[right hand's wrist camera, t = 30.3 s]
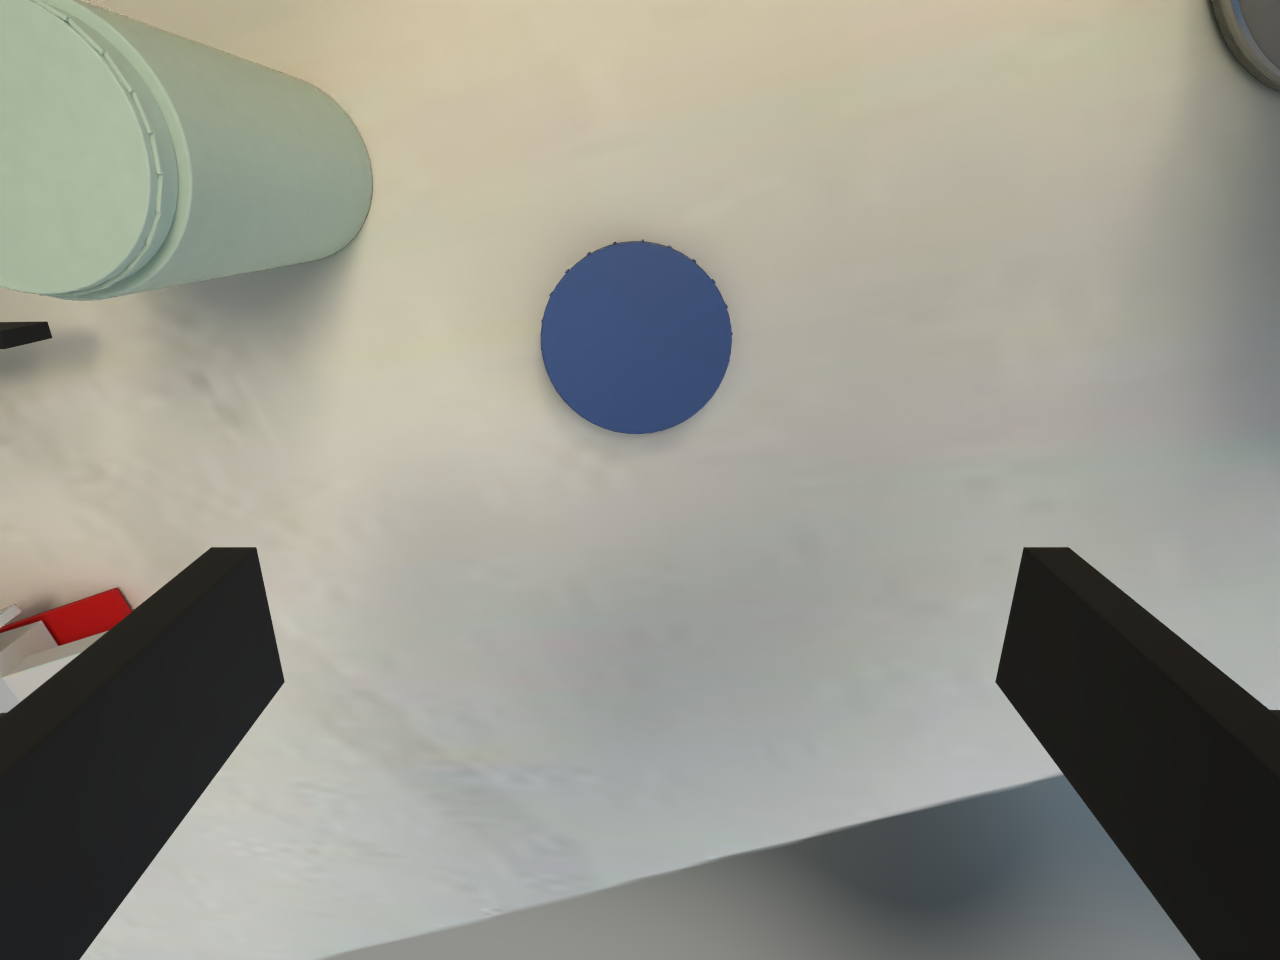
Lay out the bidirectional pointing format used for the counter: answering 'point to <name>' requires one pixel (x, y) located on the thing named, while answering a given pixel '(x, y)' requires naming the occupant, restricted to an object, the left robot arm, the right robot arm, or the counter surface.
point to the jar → (160, 158)
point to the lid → (636, 337)
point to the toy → (51, 641)
